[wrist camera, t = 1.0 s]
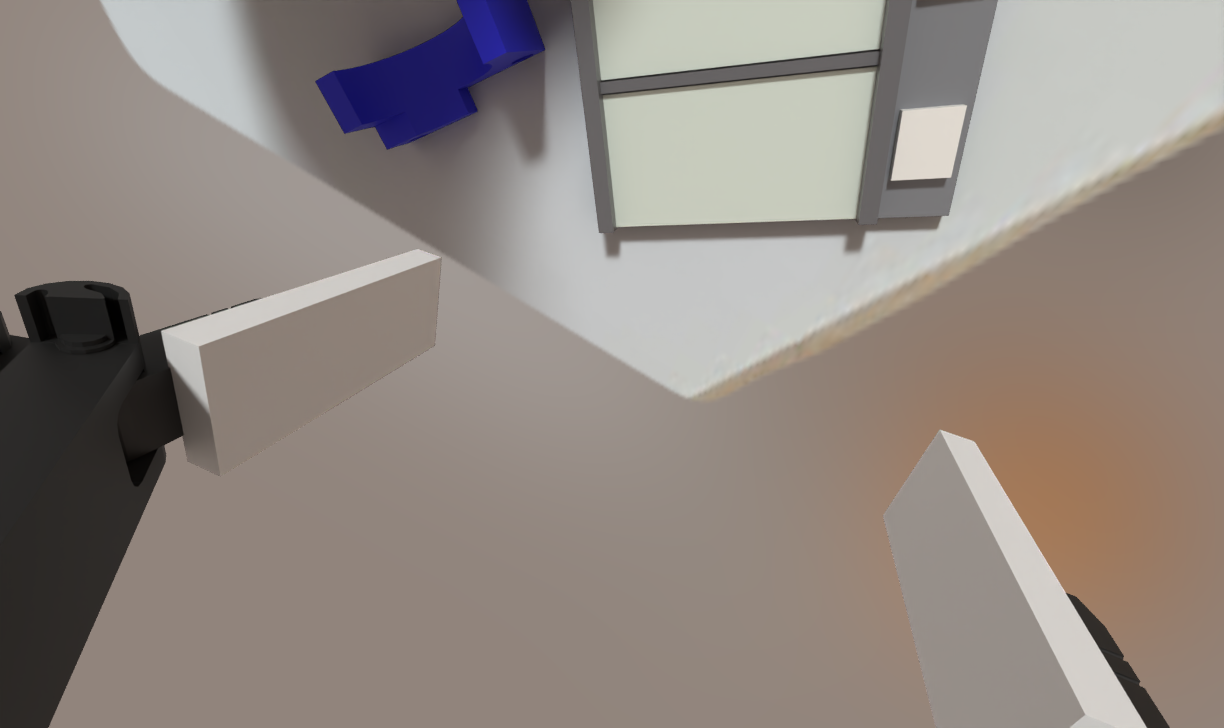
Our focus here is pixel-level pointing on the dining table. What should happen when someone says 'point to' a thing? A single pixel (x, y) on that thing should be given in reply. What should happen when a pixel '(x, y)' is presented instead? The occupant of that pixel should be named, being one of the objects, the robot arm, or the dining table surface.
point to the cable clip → (433, 74)
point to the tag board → (777, 107)
